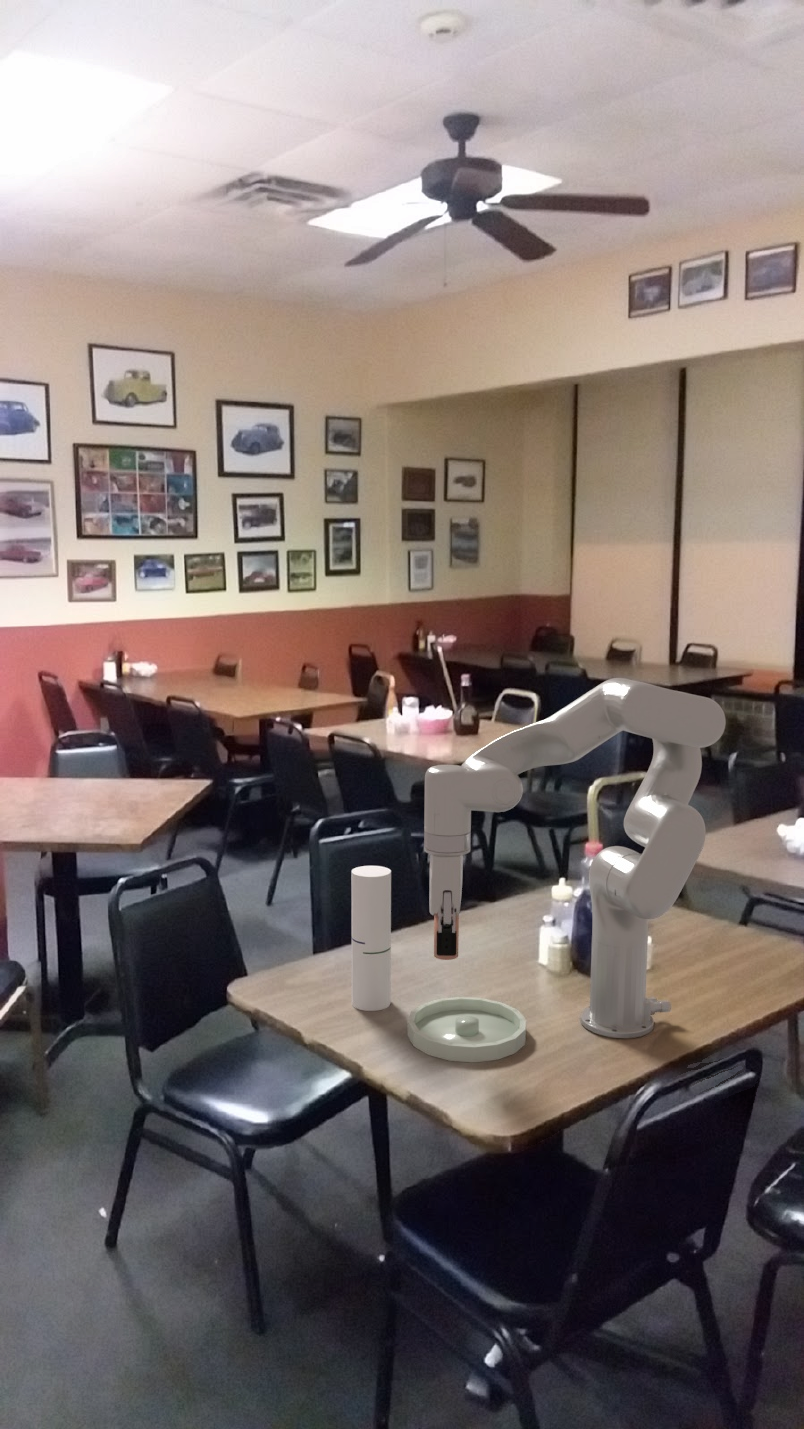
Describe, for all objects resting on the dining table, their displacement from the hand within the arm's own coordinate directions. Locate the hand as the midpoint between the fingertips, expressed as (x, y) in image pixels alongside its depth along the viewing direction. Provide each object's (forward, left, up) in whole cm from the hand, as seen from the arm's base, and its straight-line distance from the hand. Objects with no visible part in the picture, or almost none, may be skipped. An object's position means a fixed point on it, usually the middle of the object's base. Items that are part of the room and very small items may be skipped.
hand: (446, 948), depth 176 cm
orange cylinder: (0, 0, -1) cm, 1 cm away
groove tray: (-5, -4, -17) cm, 18 cm away
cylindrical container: (+8, -21, -17) cm, 28 cm away
